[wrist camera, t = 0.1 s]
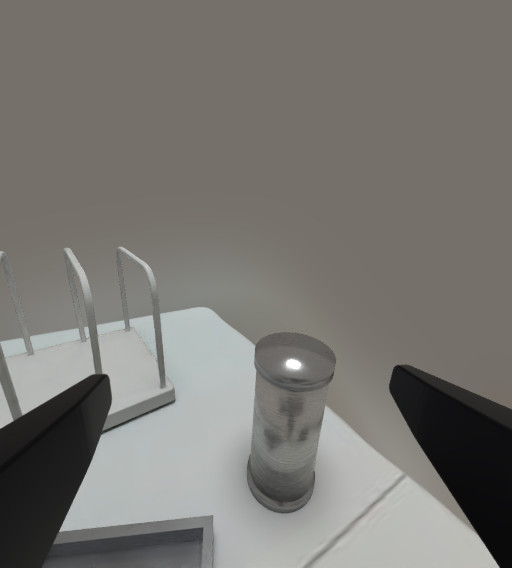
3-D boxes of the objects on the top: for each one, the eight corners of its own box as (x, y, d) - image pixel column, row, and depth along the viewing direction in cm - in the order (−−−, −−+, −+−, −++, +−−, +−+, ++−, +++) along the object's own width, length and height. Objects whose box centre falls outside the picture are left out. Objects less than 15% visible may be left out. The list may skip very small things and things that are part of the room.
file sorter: (134, 337, 42) (125, 240, 37) (176, 403, 29) (170, 268, 24) (-124, 402, 27) (-196, 254, 22) (-274, 601, 14) (-528, 348, 9)
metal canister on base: (323, 508, 20) (350, 376, 16) (250, 516, 19) (261, 379, 15) (302, 443, 25) (318, 332, 21) (244, 447, 24) (250, 332, 20)
